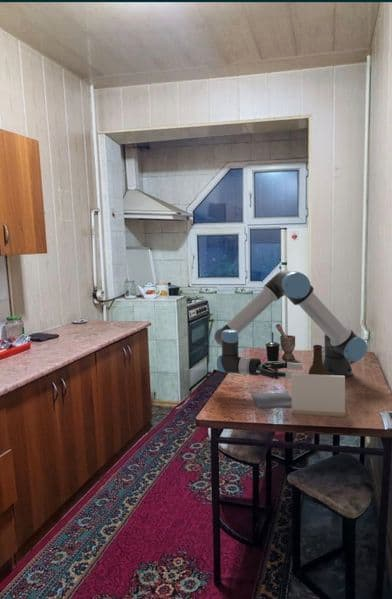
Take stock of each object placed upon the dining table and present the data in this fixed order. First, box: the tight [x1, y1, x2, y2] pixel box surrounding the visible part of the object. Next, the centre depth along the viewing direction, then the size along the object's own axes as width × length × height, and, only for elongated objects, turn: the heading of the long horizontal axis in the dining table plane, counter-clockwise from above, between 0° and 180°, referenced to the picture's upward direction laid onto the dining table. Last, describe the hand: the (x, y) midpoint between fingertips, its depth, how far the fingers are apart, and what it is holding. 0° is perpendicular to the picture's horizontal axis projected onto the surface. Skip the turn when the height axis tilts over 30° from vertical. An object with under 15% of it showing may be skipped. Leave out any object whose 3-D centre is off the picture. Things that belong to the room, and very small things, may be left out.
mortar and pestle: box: [275, 323, 296, 361], centre depth 265 cm, size 12×9×20 cm
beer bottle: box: [308, 344, 327, 375], centre depth 190 cm, size 8×8×24 cm
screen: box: [290, 373, 346, 418], centre depth 178 cm, size 20×6×15 cm, turn 75°
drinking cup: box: [265, 332, 281, 371], centre depth 242 cm, size 8×8×20 cm
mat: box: [251, 392, 292, 409], centre depth 194 cm, size 16×16×1 cm
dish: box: [311, 346, 351, 363], centre depth 262 cm, size 22×22×5 cm
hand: (298, 370), depth 194 cm, fingers open, 13 cm apart
